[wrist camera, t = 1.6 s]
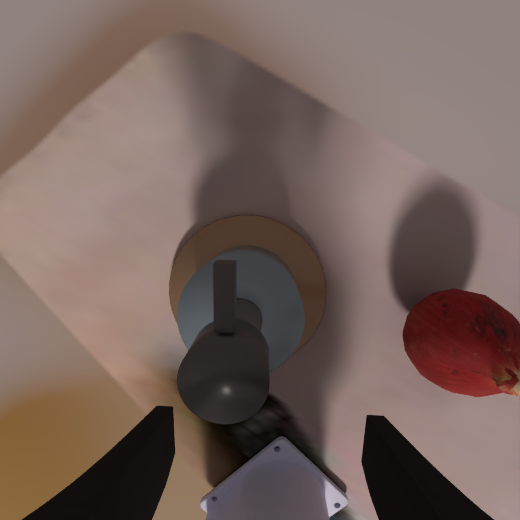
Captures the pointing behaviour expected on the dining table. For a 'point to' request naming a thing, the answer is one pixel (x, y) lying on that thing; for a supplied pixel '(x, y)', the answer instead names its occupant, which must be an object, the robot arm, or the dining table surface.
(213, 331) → the pump head
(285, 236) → the dispenser
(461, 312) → the red round fruit
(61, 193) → the dining table surface
